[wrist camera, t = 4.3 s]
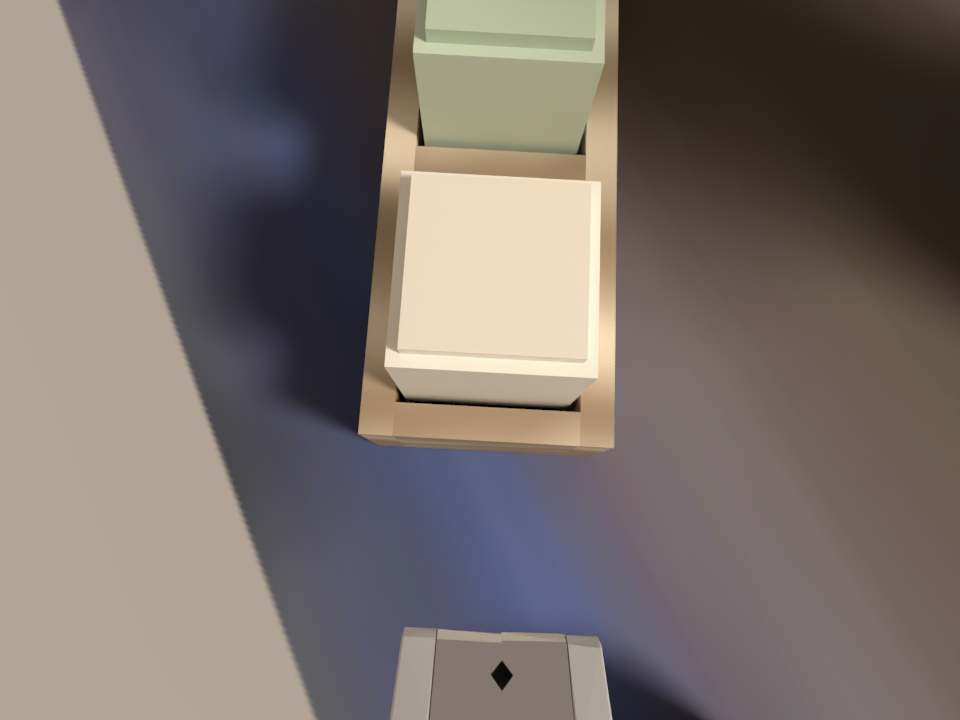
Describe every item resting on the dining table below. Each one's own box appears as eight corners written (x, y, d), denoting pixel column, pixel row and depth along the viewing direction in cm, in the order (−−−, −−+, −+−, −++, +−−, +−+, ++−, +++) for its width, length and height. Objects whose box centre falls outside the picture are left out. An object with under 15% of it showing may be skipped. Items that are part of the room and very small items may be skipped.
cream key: (565, 409, 25) (602, 374, 18) (406, 400, 25) (381, 362, 18) (569, 259, 26) (604, 171, 19) (418, 251, 26) (398, 160, 19)
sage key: (572, 167, 27) (608, 50, 20) (426, 158, 27) (411, 39, 20) (575, 39, 28) (610, -113, 21) (436, 31, 28) (424, -123, 21)
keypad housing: (588, 456, 28) (614, 447, 23) (377, 445, 28) (358, 433, 23) (599, -107, 34) (620, -209, 29) (426, -116, 34) (418, -220, 29)
